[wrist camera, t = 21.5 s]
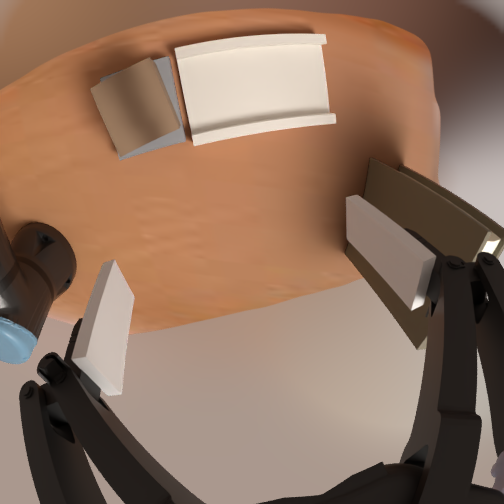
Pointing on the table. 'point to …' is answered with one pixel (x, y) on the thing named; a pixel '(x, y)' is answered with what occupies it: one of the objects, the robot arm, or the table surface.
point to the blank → (135, 106)
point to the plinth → (168, 80)
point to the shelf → (253, 85)
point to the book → (423, 233)
